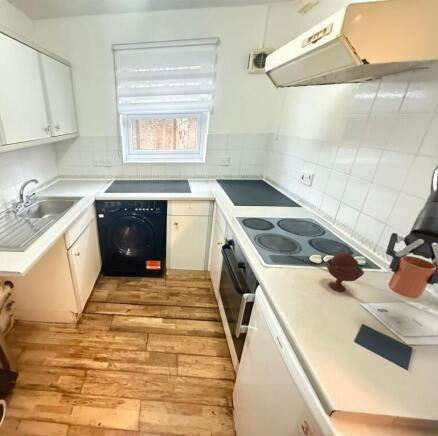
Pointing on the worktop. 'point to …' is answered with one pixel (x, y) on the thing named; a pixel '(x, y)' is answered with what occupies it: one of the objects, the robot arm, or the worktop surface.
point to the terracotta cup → (411, 276)
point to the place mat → (384, 346)
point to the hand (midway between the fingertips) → (411, 276)
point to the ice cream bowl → (343, 270)
